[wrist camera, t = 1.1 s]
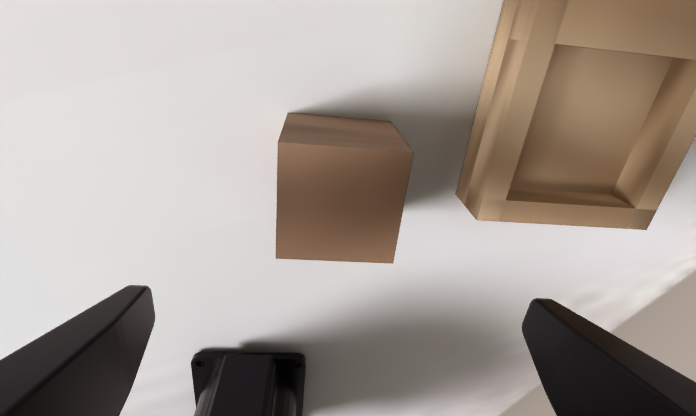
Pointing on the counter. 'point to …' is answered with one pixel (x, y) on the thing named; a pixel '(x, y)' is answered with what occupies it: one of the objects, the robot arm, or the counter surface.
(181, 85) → the counter surface
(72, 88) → the counter surface
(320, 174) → the walnut cube
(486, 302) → the counter surface
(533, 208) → the box
